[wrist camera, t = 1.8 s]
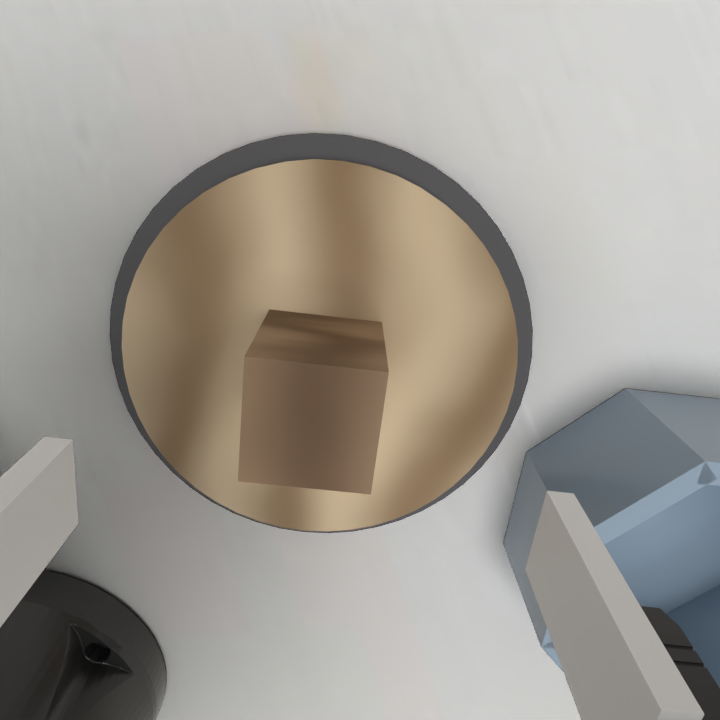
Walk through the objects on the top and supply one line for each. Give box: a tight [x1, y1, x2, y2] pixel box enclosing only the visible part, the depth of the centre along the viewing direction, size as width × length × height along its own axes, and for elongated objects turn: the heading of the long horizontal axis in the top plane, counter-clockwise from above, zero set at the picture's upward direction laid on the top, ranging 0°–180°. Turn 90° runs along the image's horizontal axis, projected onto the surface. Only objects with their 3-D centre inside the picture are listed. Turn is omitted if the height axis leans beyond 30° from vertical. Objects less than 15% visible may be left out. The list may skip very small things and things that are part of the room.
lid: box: [122, 159, 518, 532], centre depth 24 cm, size 18×18×7 cm
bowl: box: [503, 389, 720, 688], centre depth 28 cm, size 14×14×7 cm
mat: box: [110, 134, 533, 533], centre depth 28 cm, size 20×20×1 cm
